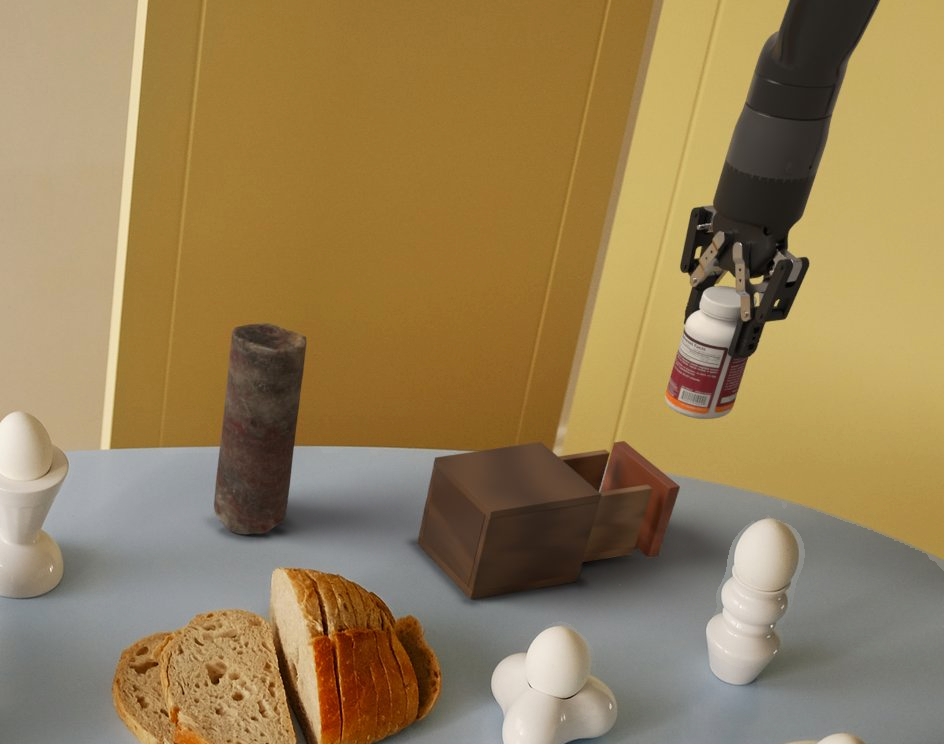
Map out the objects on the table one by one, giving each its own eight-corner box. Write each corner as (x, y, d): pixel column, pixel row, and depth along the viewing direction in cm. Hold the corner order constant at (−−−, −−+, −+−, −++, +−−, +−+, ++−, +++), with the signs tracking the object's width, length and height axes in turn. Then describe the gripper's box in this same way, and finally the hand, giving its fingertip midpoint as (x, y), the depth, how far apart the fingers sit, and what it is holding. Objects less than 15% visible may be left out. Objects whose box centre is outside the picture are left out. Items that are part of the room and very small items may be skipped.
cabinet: (519, 526, 178) (541, 441, 172) (577, 581, 170) (601, 494, 164) (416, 543, 175) (434, 457, 169) (470, 599, 167) (491, 511, 161)
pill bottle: (715, 390, 170) (749, 281, 163) (742, 420, 165) (779, 309, 158) (652, 392, 169) (684, 282, 162) (677, 422, 164) (711, 311, 157)
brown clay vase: (198, 506, 180) (219, 322, 168) (261, 493, 182) (286, 311, 170) (234, 542, 175) (258, 355, 162) (298, 529, 177) (327, 343, 164)
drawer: (615, 507, 179) (634, 439, 174) (669, 554, 172) (691, 484, 167) (513, 524, 176) (530, 454, 171) (564, 572, 169) (583, 501, 164)
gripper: (864, 185, 148) (800, 370, 158) (757, 128, 158) (704, 305, 169) (788, 194, 146) (729, 380, 157) (685, 136, 157) (636, 313, 167)
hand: (716, 340), depth 163 cm, fingers closed on pill bottle, 6 cm apart
